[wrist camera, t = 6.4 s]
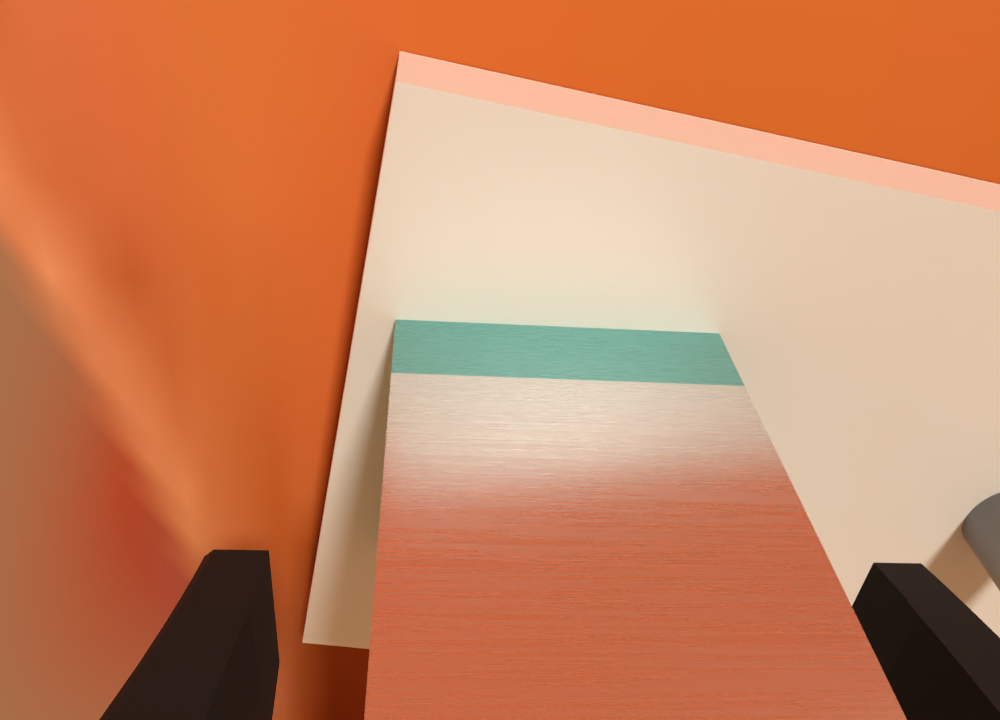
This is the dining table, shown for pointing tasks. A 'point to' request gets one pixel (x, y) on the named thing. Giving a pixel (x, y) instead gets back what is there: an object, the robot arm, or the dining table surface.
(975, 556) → the pin board
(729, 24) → the dining table surface
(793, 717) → the teal banded block
